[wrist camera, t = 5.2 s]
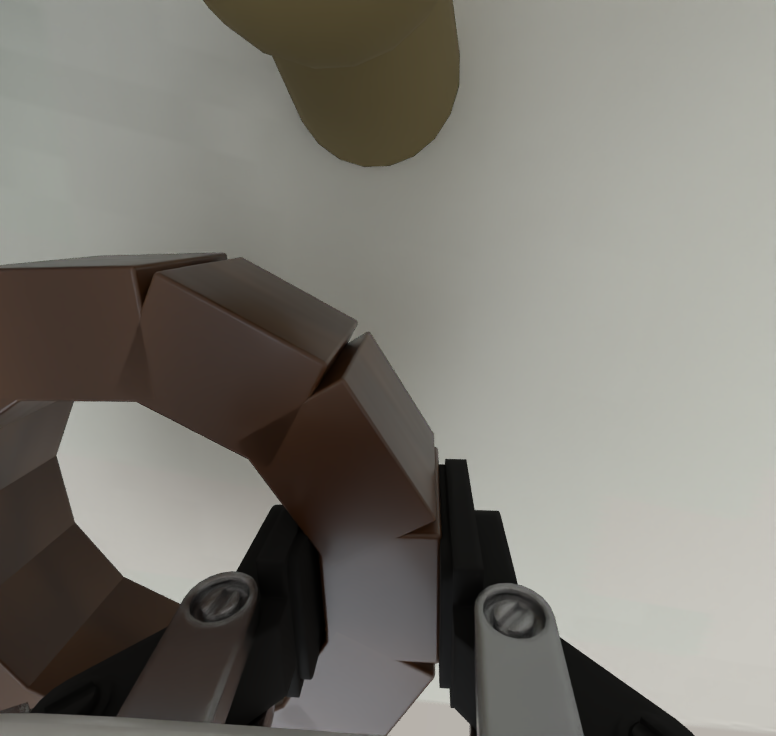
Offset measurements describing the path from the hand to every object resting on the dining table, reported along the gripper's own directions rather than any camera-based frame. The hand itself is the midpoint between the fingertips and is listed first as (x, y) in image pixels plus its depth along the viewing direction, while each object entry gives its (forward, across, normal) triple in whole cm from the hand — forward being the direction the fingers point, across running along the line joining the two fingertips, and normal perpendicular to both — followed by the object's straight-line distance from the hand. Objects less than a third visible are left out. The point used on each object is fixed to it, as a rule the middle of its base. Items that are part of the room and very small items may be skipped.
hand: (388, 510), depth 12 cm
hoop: (+1, +5, 0) cm, 5 cm away
